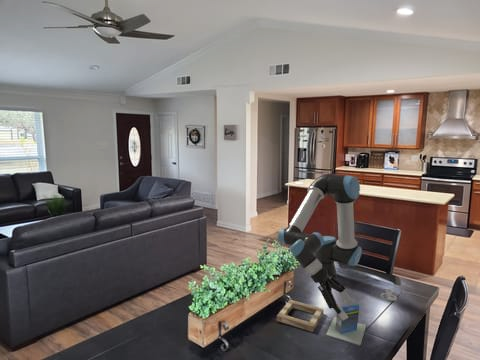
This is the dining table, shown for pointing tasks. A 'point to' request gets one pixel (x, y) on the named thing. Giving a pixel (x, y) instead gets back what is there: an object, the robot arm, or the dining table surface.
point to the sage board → (347, 333)
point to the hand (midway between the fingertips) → (348, 311)
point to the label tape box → (348, 319)
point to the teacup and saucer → (389, 295)
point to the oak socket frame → (297, 322)
